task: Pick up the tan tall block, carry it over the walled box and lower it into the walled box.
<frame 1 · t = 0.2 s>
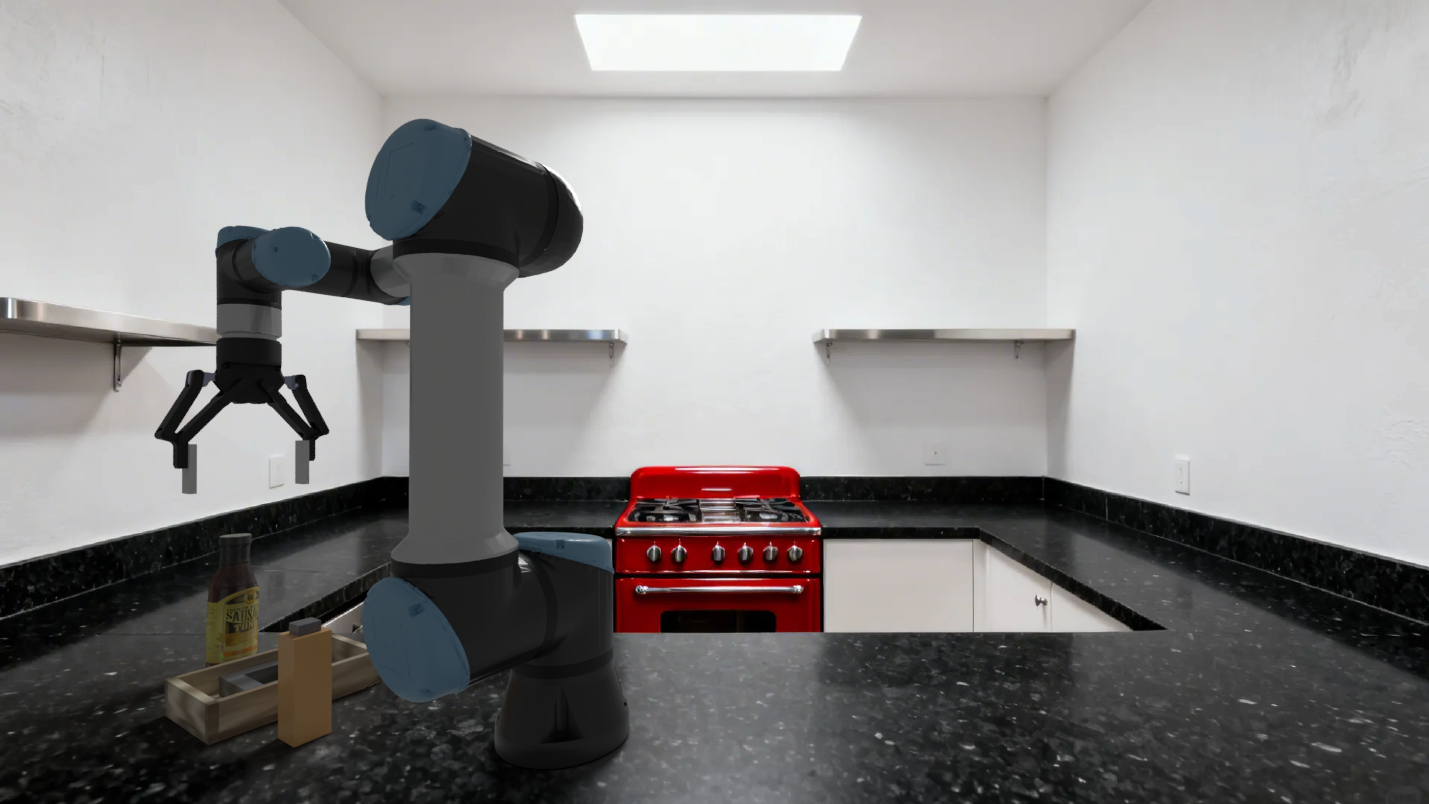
hand: (249, 488, 89), 27 cm above the worktop, tool pointing down, fingers open, 13 cm apart
sauce bottle: (232, 669, 94), on the worktop
tan tall block: (304, 735, 74), on the worktop
walled box: (279, 697, 84), on the worktop
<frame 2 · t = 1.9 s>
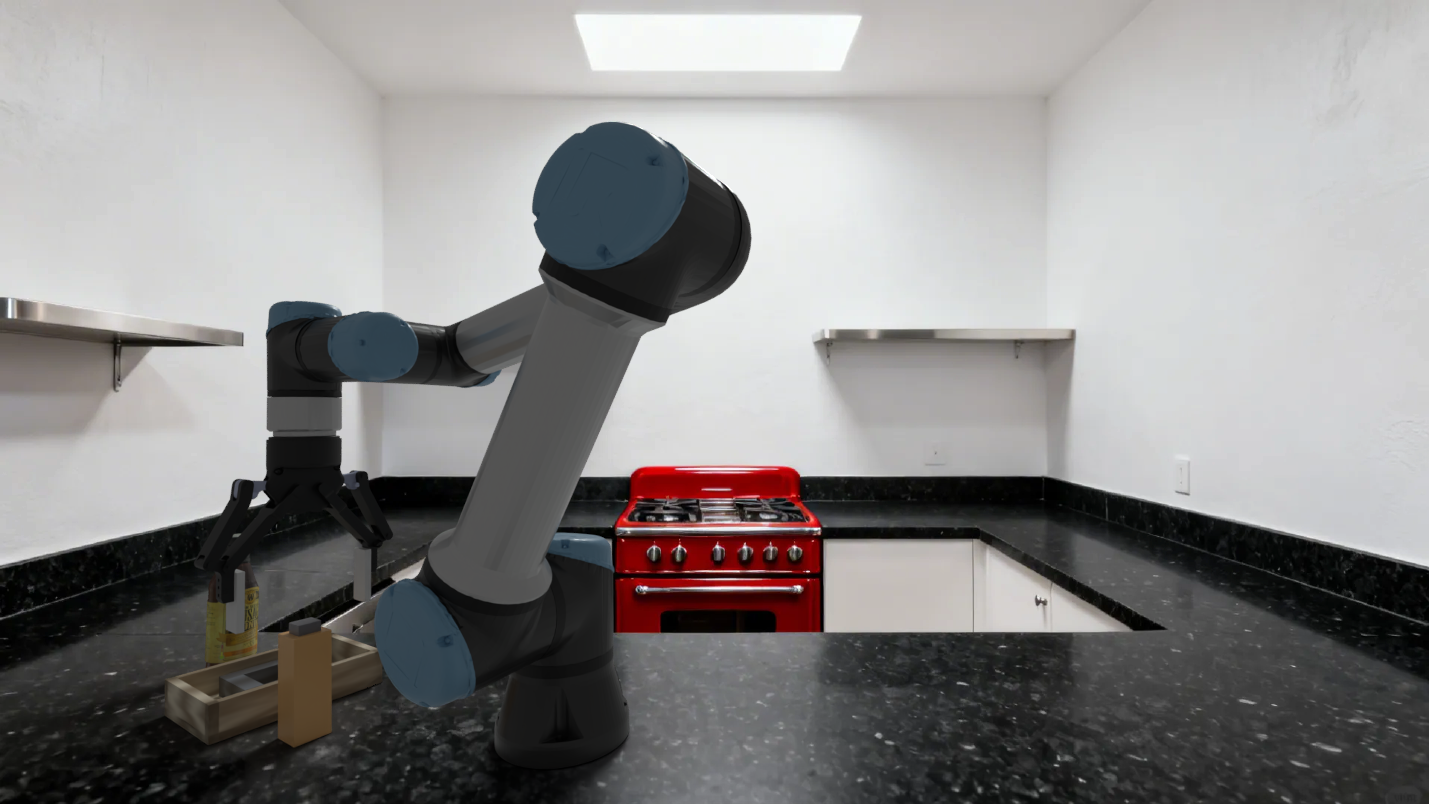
hand: (303, 614, 74), 14 cm above the worktop, tool pointing down, fingers open, 13 cm apart
nothing on the worktop moved.
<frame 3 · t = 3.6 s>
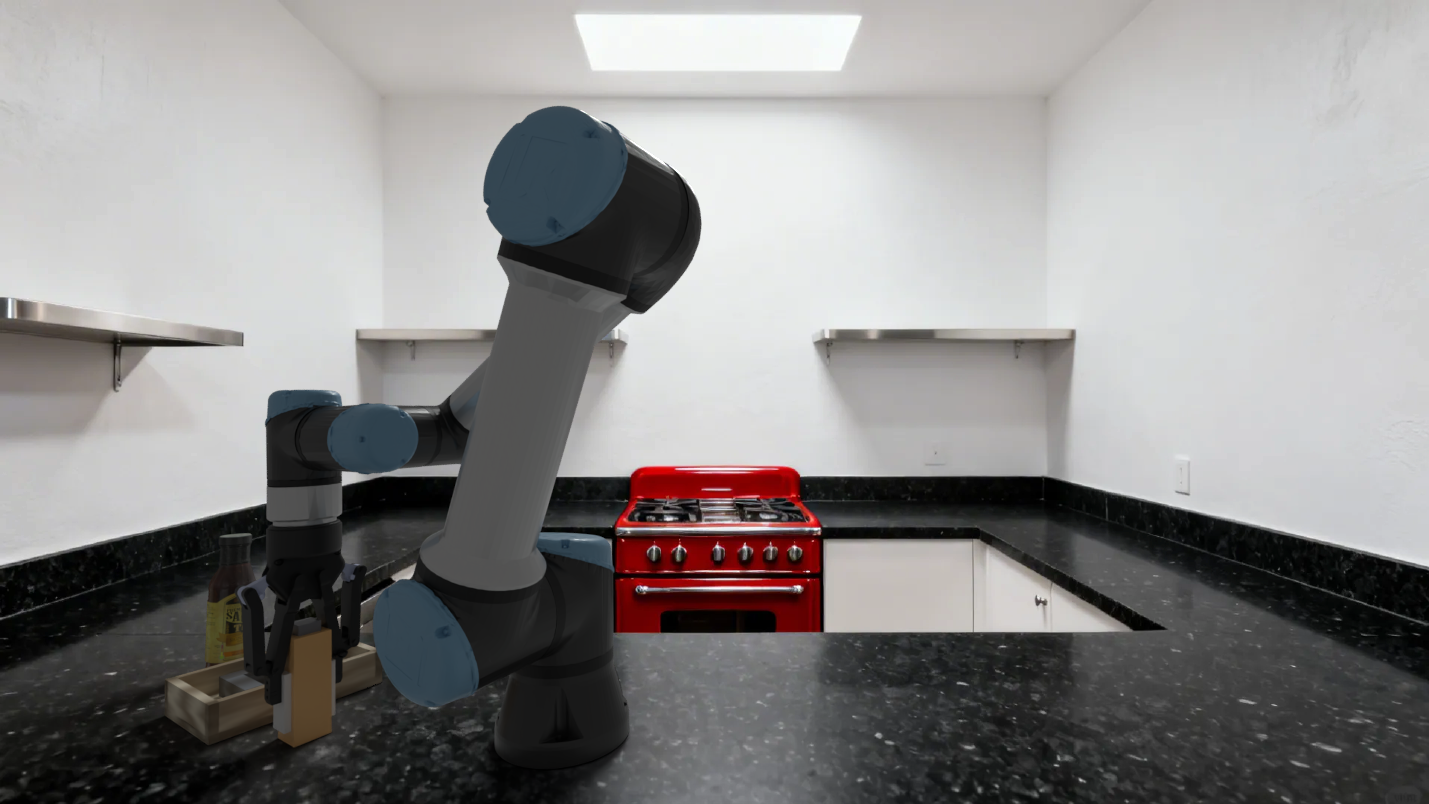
hand: (305, 720, 74), 2 cm above the worktop, tool pointing down, fingers closed on tan tall block, 4 cm apart
tan tall block: (305, 735, 74), on the worktop, touching gripper
everything else where it was.
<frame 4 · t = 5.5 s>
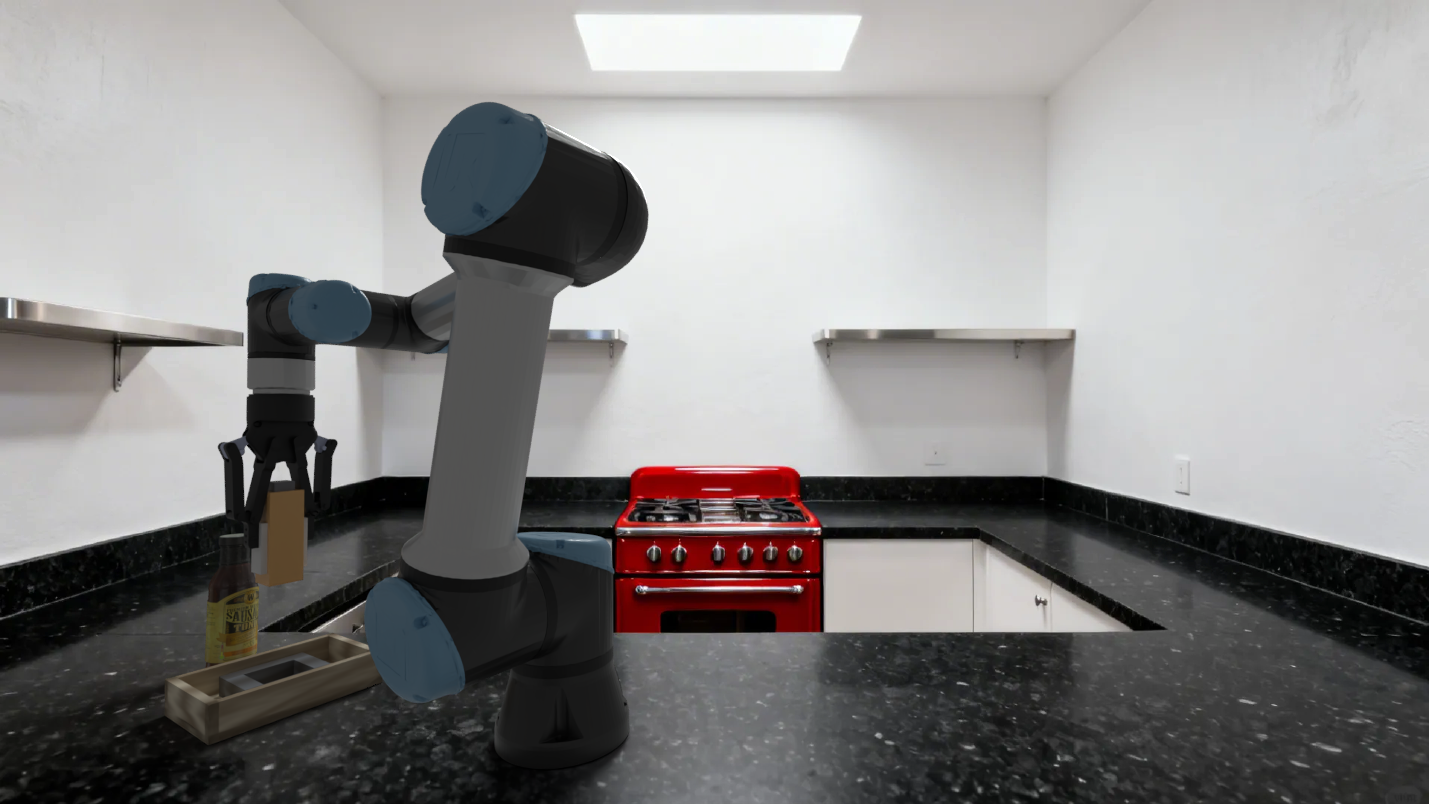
hand: (279, 568, 83), 17 cm above the worktop, tool pointing down, fingers closed on tan tall block, 4 cm apart
tan tall block: (279, 581, 83), point 16 cm above the worktop, touching gripper
everything else where it was.
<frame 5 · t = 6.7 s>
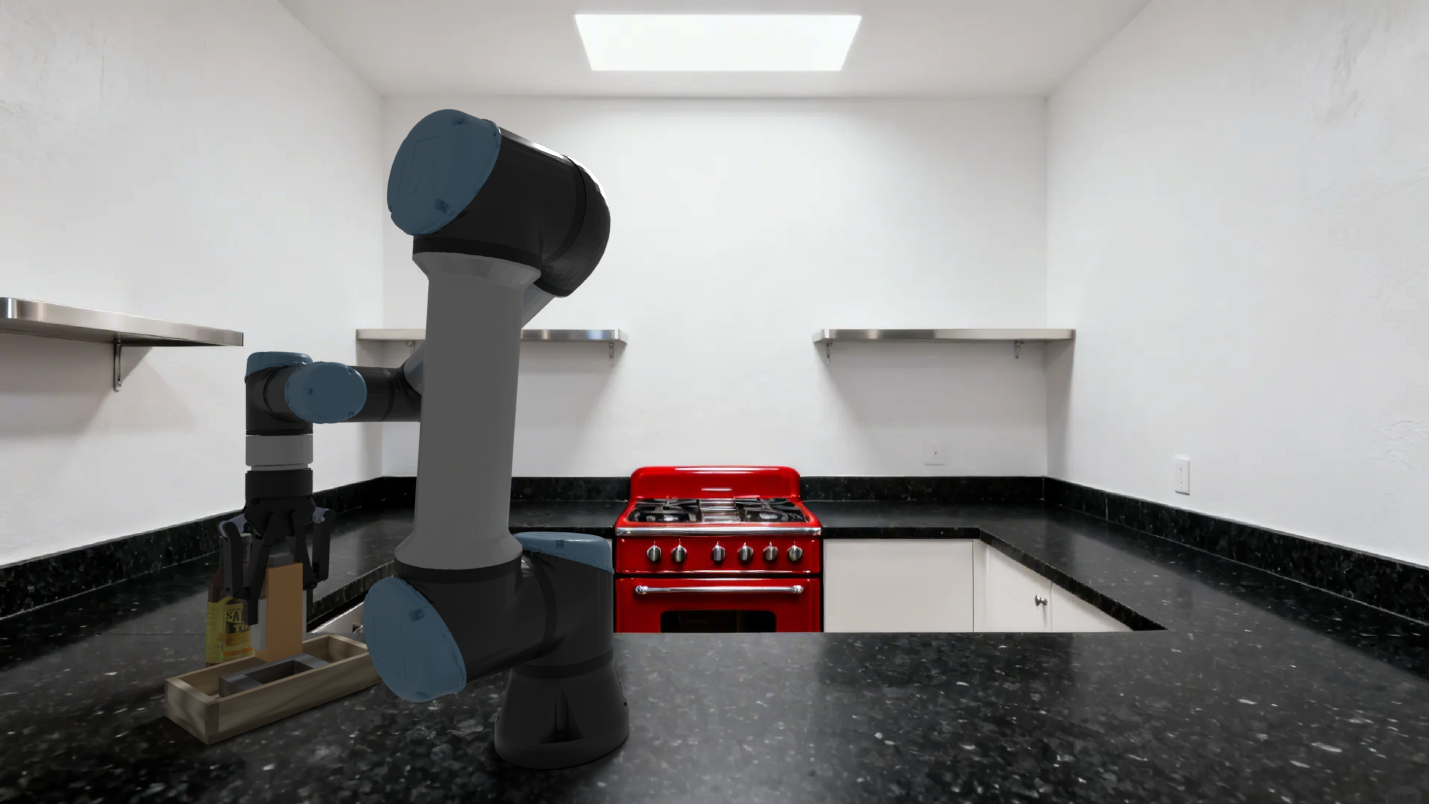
hand: (279, 642, 84), 7 cm above the worktop, tool pointing down, fingers closed on tan tall block, 4 cm apart
tan tall block: (278, 654, 84), point 6 cm above the worktop, touching gripper
everything else where it was.
when the fingers open (4 cm above the worktop, at t = 7.6 s): tan tall block drops 1 cm, resting on walled box.
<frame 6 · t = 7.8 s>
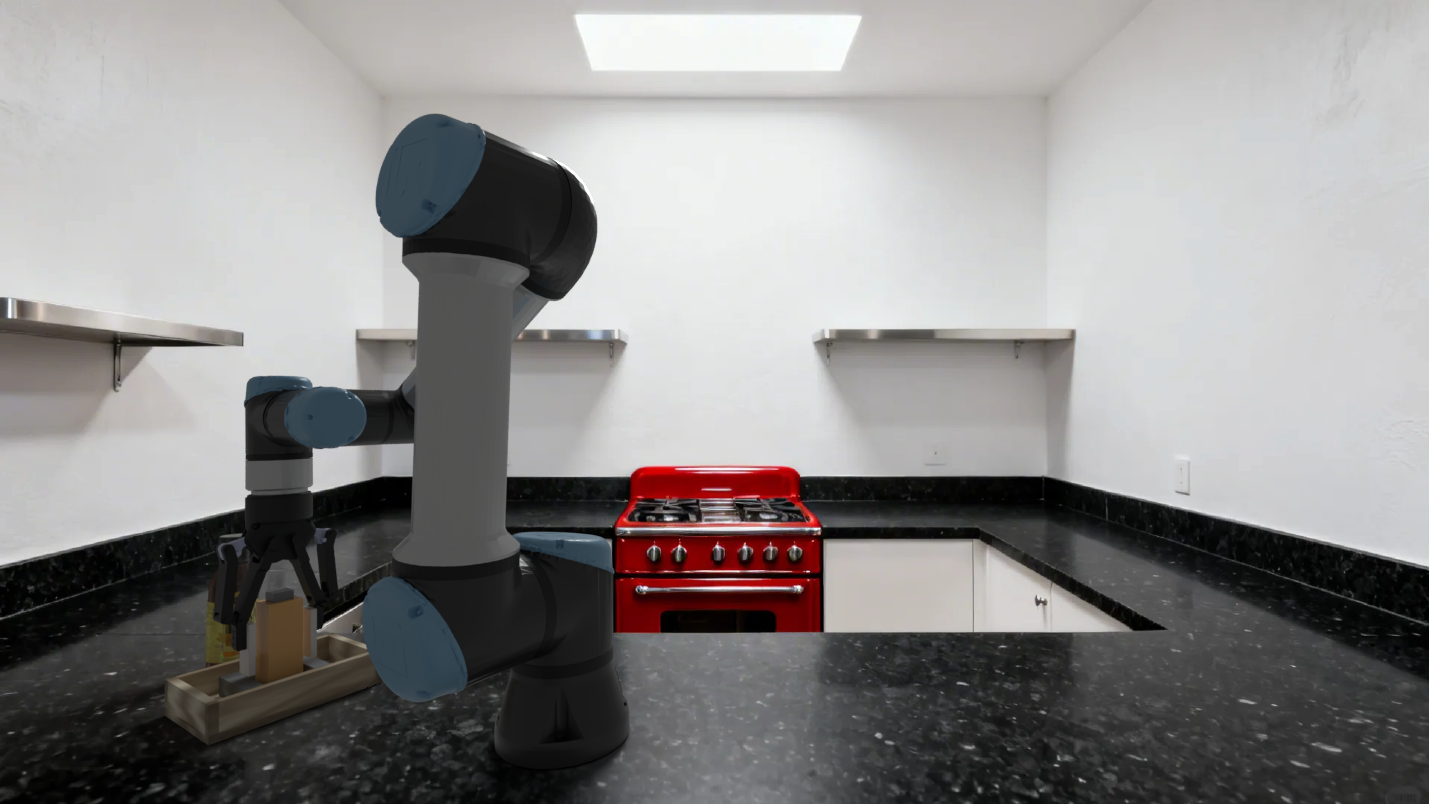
hand: (279, 663, 84), 4 cm above the worktop, tool pointing down, fingers open, 7 cm apart
tan tall block: (279, 690, 84), point 1 cm above the worktop, touching walled box
everything else where it was.
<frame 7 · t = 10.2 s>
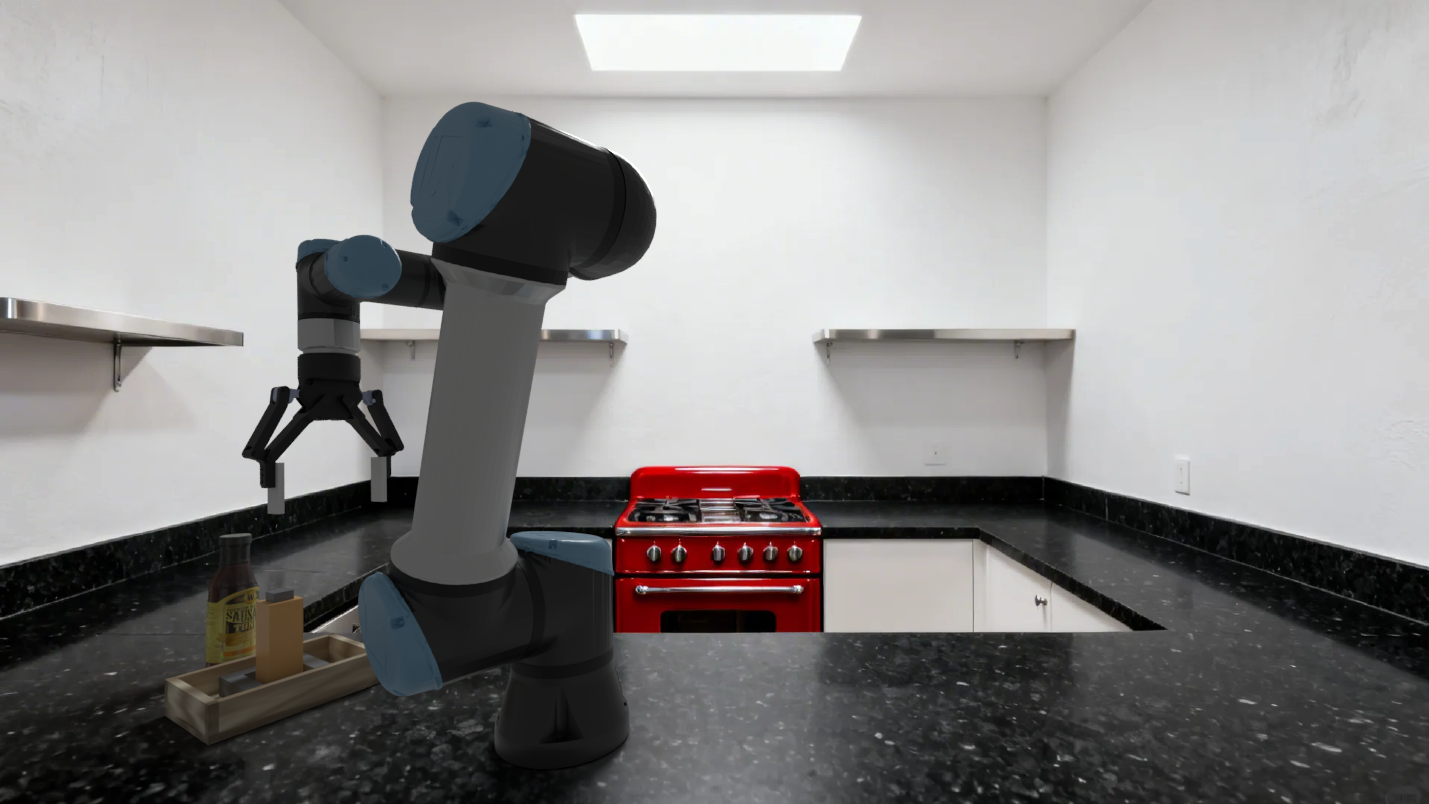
hand: (331, 507, 87), 25 cm above the worktop, tool pointing down, fingers open, 13 cm apart
nothing on the worktop moved.
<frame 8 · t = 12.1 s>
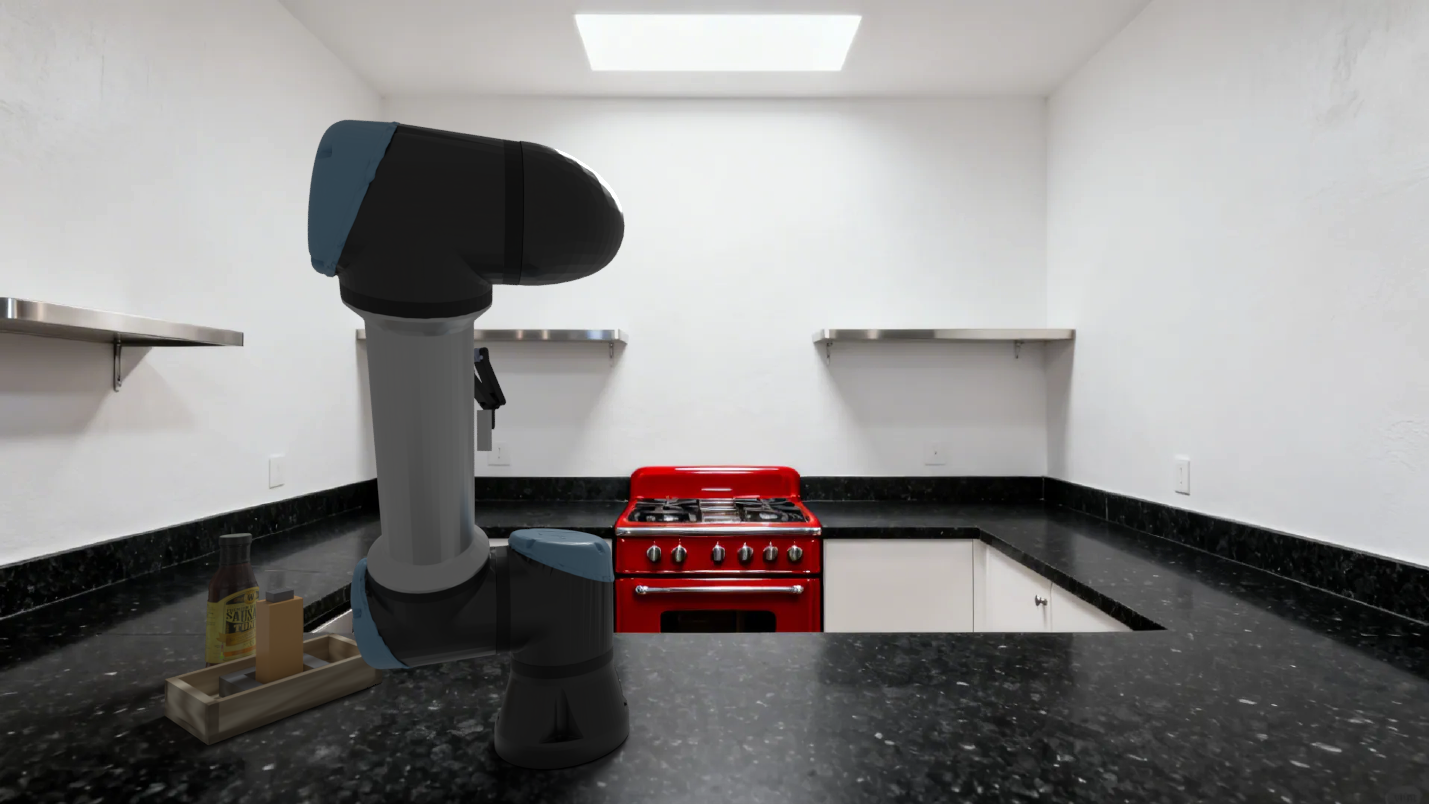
hand: (445, 453, 94), 32 cm above the worktop, tool pointing down, fingers open, 13 cm apart
nothing on the worktop moved.
at the end: tan tall block 0.0 cm off-centre on the walled box, point 1.0 cm above the walled box's base; tan tall block tilted 0°; the gripper is holding nothing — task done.
